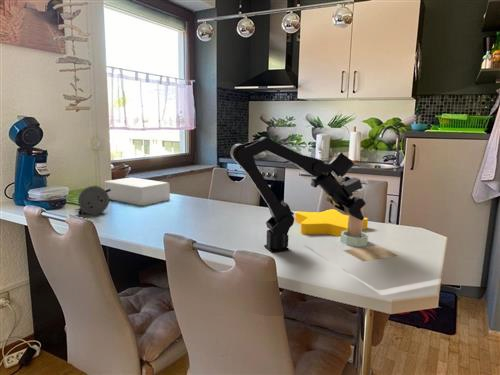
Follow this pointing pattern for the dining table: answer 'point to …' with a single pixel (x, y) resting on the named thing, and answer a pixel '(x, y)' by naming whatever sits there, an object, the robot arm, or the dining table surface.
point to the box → (138, 191)
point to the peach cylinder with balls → (355, 225)
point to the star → (324, 222)
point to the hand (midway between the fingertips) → (359, 217)
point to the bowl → (354, 239)
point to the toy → (93, 200)
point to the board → (370, 253)
